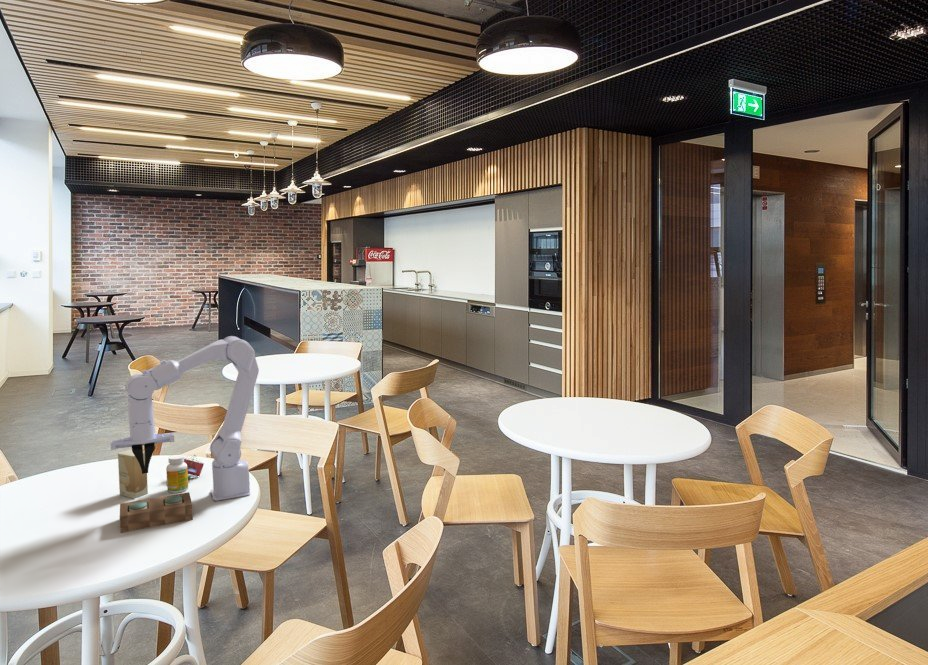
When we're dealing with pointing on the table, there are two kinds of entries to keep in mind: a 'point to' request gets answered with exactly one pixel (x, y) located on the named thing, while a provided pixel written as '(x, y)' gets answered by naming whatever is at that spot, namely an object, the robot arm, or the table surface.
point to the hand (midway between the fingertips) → (145, 472)
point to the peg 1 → (137, 506)
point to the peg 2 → (173, 500)
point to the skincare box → (131, 475)
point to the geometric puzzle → (193, 467)
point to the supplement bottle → (177, 474)
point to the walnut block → (155, 513)
